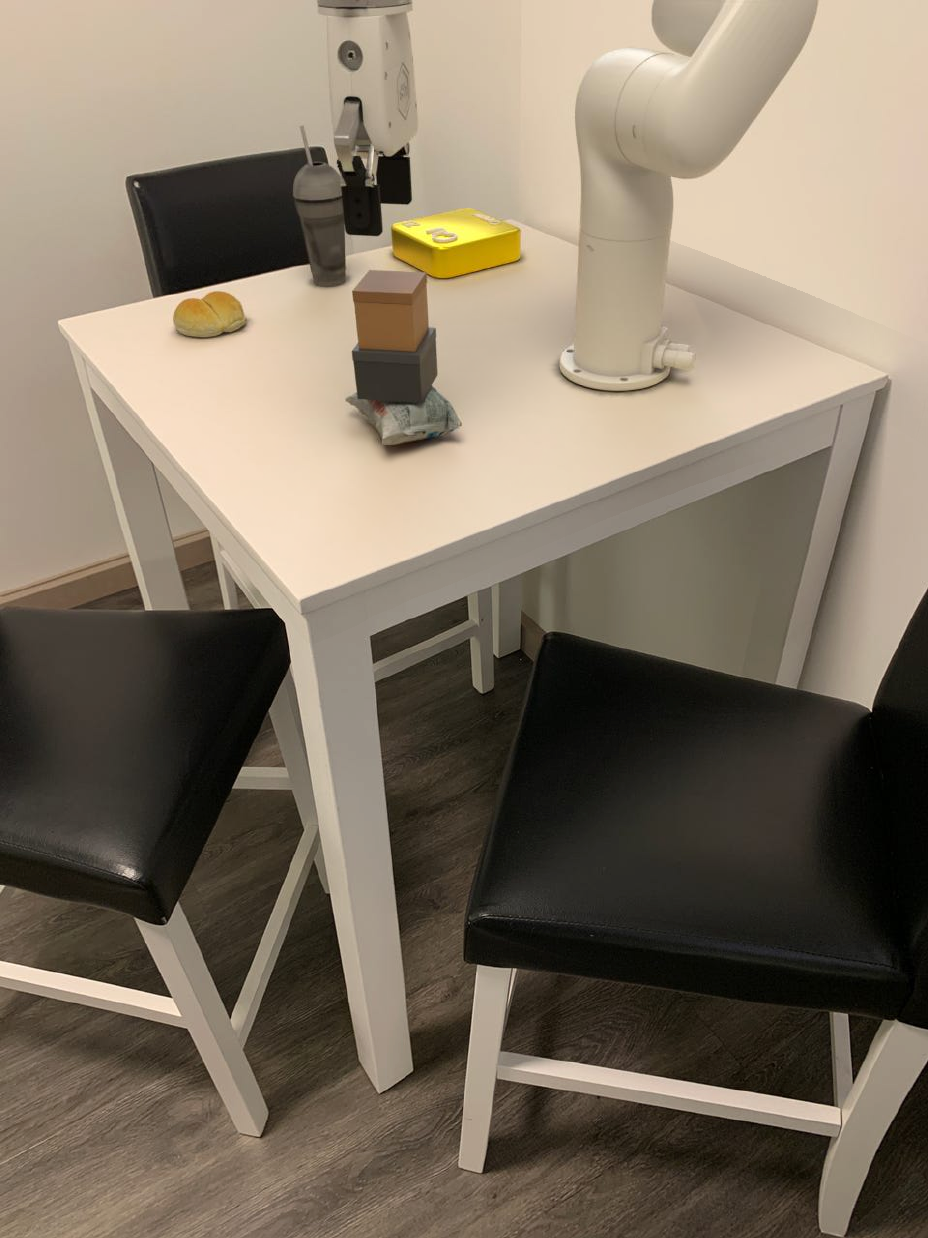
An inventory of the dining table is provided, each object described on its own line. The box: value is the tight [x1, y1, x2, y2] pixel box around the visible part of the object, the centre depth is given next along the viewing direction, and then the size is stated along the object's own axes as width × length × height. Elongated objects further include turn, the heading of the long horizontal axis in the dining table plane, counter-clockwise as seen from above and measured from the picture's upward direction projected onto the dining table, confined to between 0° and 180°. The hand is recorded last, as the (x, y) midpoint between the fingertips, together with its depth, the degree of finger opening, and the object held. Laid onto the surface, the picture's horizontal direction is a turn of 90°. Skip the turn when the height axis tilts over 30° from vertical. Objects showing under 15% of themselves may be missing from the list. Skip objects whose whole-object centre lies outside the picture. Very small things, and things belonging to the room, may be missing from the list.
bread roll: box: [172, 290, 248, 338], centre depth 119 cm, size 8×9×4 cm
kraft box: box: [351, 269, 430, 352], centre depth 89 cm, size 6×6×6 cm
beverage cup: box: [292, 125, 347, 288], centre depth 126 cm, size 7×7×20 cm
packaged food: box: [345, 385, 463, 446], centre depth 96 cm, size 9×12×5 cm
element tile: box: [390, 207, 522, 279], centre depth 138 cm, size 15×15×5 cm
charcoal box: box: [351, 326, 438, 403], centre depth 92 cm, size 7×7×5 cm
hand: (380, 218), depth 84 cm, fingers open, 9 cm apart
